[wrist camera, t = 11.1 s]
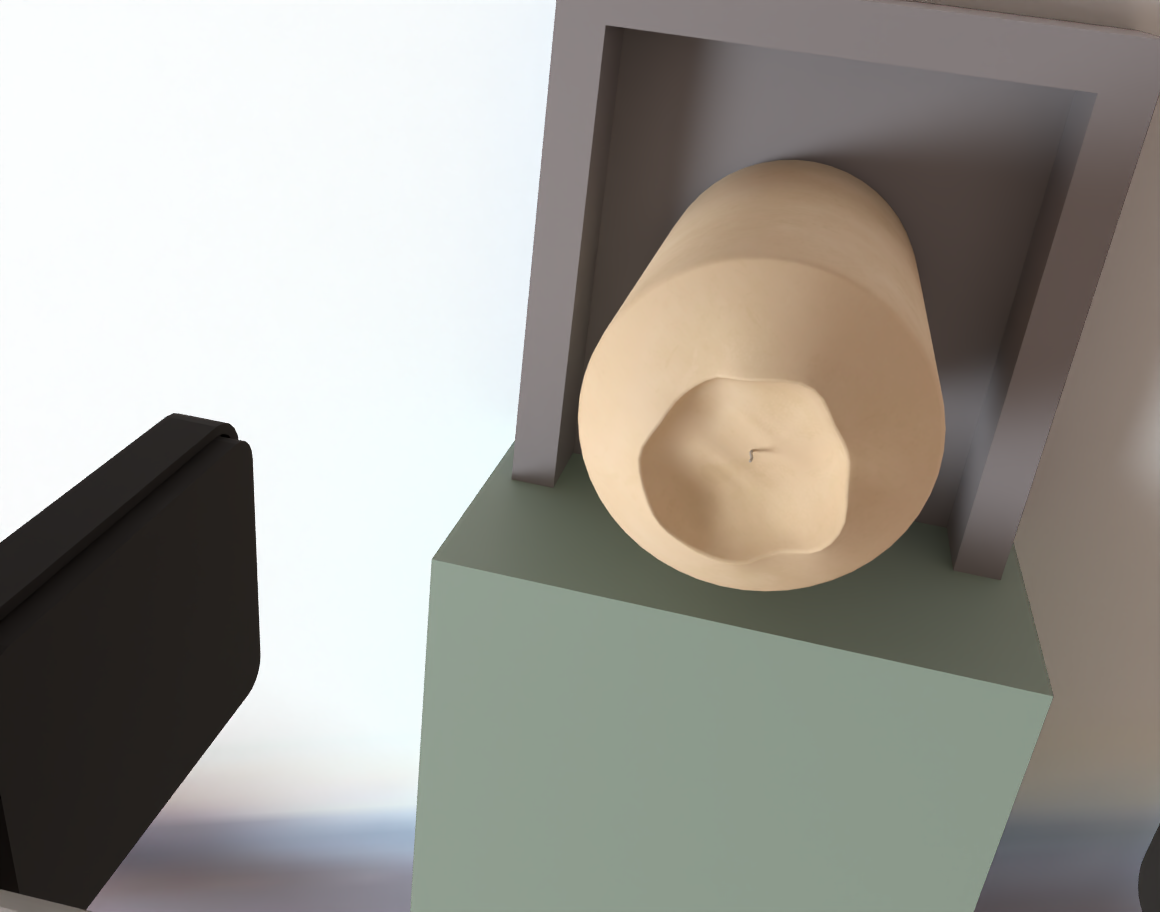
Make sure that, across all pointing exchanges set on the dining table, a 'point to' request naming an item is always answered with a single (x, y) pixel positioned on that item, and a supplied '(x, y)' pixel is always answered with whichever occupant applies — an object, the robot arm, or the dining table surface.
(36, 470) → the dining table surface
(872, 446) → the candle
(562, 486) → the green boxy piece
